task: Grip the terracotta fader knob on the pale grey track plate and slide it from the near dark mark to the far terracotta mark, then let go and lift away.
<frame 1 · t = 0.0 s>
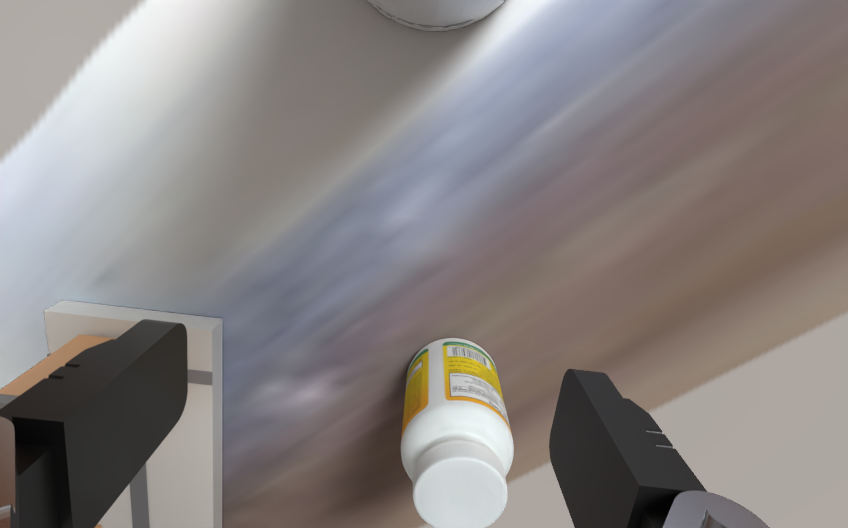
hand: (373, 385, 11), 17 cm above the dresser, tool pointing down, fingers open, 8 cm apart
fader knob: (92, 405, 25), point 5 cm above the dresser, slide at -6.0 cm
fader plate: (149, 440, 32), on the dresser
supplement bottle: (450, 373, 31), on the dresser
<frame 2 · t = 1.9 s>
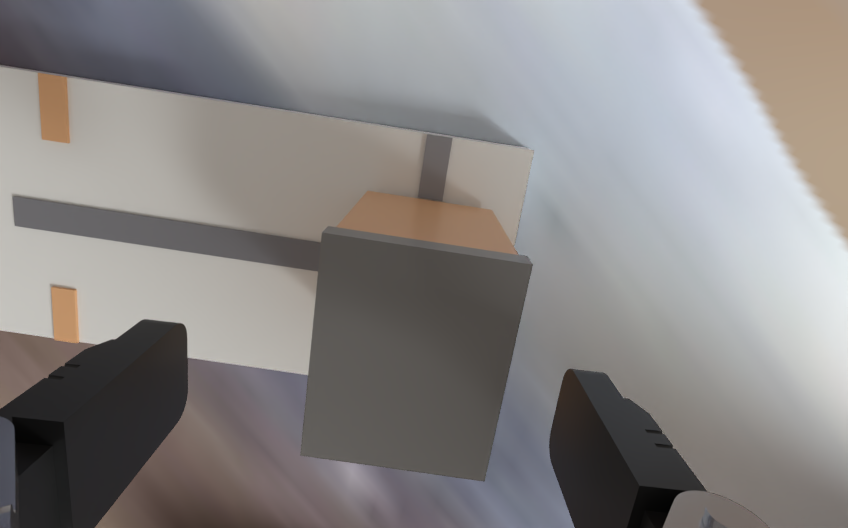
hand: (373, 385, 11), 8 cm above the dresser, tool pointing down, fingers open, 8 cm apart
fader knob: (414, 309, 14), point 5 cm above the dresser, slide at -6.0 cm
fader plate: (256, 234, 18), on the dresser
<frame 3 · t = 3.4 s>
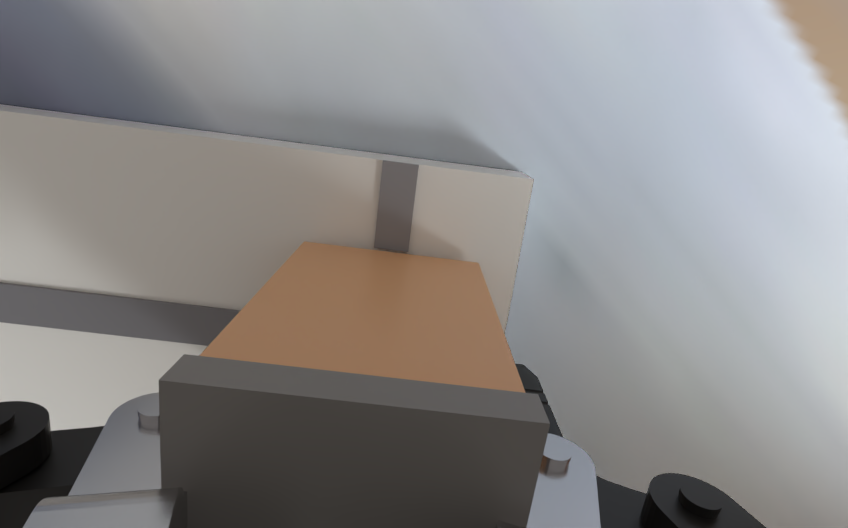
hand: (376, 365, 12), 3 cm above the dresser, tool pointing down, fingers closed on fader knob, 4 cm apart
fader knob: (366, 430, 9), point 5 cm above the dresser, slide at -6.0 cm, touching gripper
fader plate: (164, 295, 14), on the dresser
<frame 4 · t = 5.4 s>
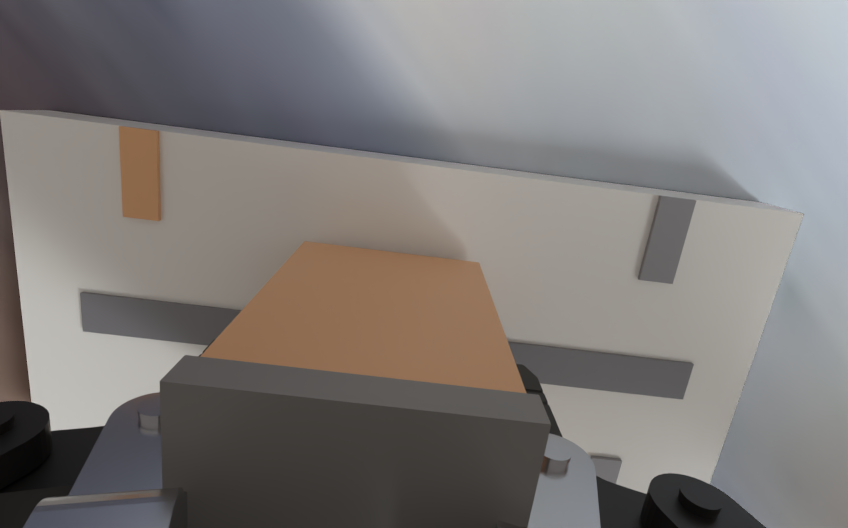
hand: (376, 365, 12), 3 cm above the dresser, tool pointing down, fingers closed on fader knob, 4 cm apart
fader knob: (367, 430, 9), point 5 cm above the dresser, slide at 0.3 cm, touching gripper
fader plate: (395, 322, 14), on the dresser
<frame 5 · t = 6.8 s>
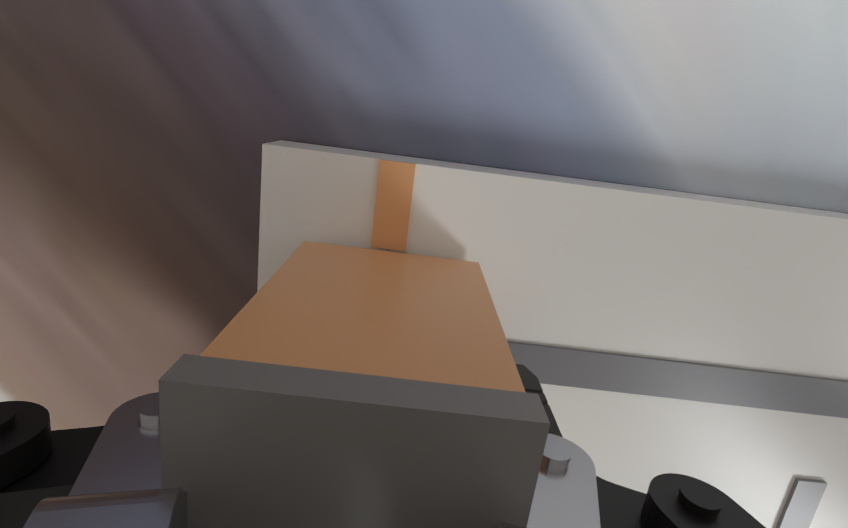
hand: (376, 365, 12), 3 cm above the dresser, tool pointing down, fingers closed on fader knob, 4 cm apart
fader knob: (366, 430, 9), point 5 cm above the dresser, slide at 5.9 cm, touching gripper
fader plate: (595, 345, 14), on the dresser
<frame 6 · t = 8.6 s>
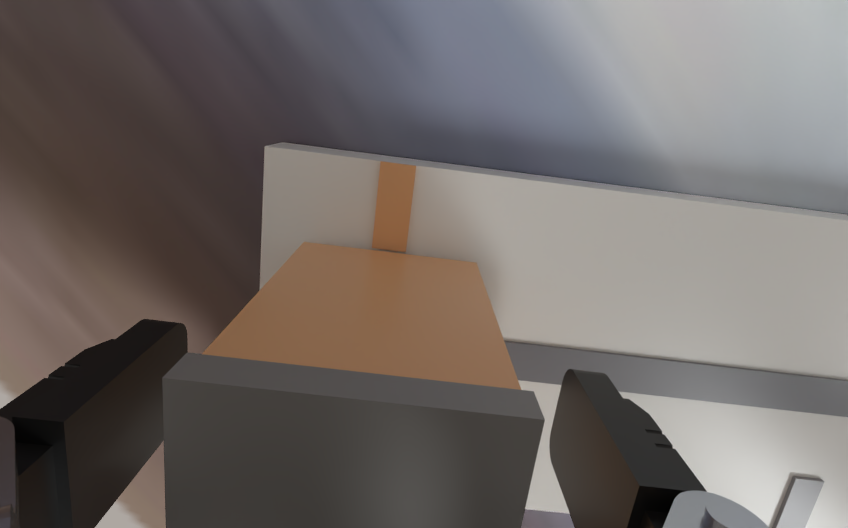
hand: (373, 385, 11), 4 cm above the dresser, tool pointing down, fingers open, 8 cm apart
fader knob: (365, 428, 9), point 5 cm above the dresser, slide at 5.9 cm
fader plate: (594, 345, 14), on the dresser
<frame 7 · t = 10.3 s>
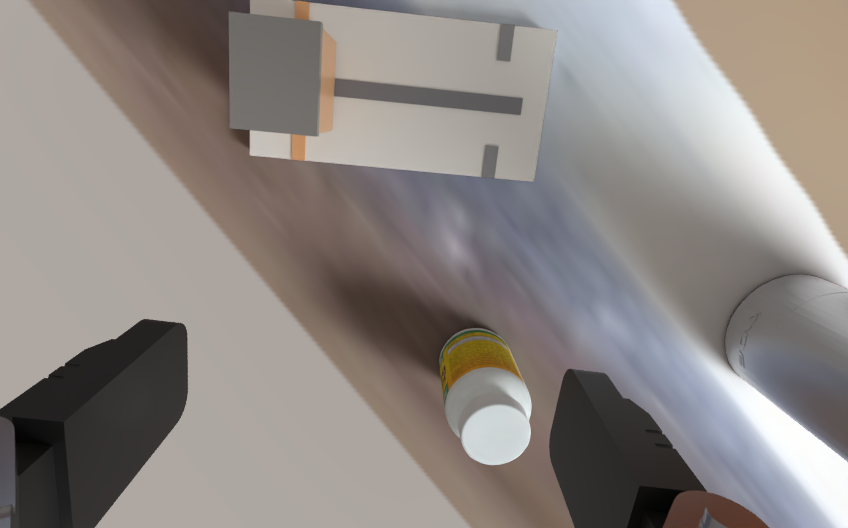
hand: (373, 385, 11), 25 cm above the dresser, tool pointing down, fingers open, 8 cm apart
fader knob: (288, 80, 27), point 5 cm above the dresser, slide at 5.9 cm
fader plate: (400, 95, 32), on the dresser
supplement bottle: (473, 357, 38), on the dresser
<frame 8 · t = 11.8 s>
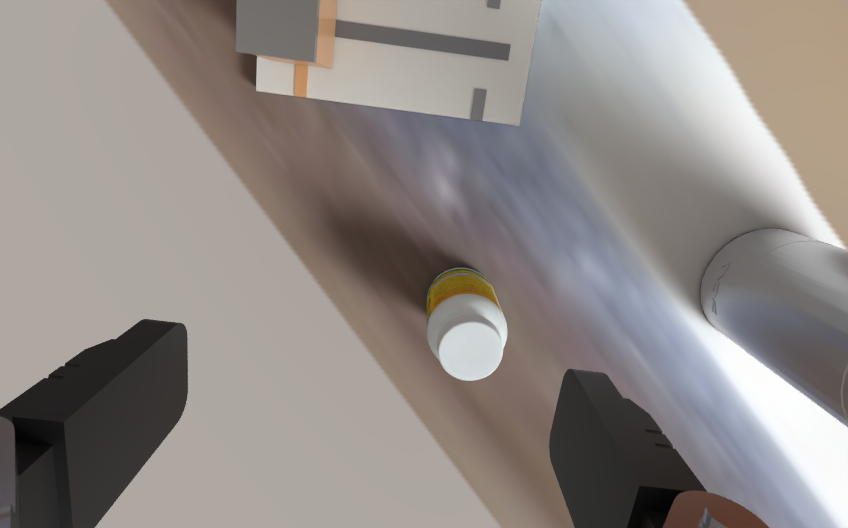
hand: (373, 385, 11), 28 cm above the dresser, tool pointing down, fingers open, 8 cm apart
fader knob: (292, 14, 30), point 5 cm above the dresser, slide at 5.9 cm
fader plate: (397, 40, 35), on the dresser
supplement bottle: (460, 296, 40), on the dresser
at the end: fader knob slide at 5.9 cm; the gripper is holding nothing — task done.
